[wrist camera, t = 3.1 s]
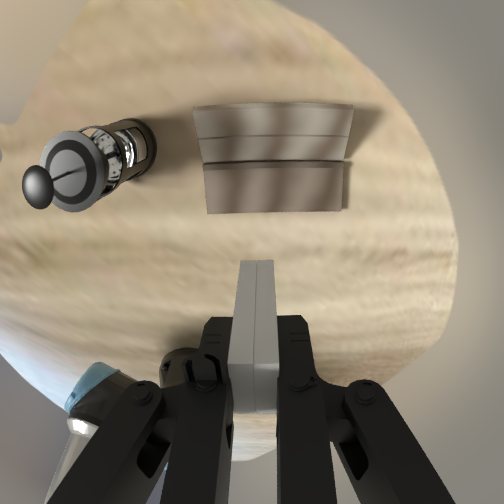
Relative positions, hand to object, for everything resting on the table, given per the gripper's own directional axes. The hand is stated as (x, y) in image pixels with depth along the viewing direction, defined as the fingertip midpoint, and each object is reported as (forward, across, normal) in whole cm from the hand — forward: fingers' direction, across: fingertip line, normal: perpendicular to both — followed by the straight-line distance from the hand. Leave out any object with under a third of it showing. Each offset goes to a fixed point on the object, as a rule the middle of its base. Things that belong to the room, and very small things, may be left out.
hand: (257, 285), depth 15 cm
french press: (+32, -20, +4) cm, 38 cm away
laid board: (+32, +2, -3) cm, 32 cm away
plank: (+30, +2, +5) cm, 30 cm away
